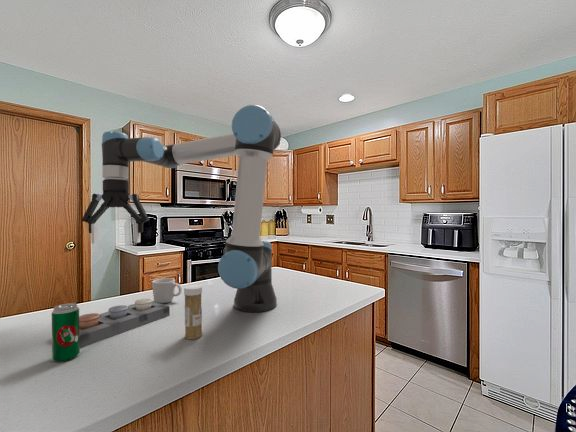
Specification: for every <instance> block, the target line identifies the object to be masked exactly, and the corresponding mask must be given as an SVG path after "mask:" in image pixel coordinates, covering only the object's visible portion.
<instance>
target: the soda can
mask: <svg viewBox="0 0 576 432" xmlns="http://www.w3.org/2000/svg"><path fill="white" fill-rule="evenodd" d="M79 316H80V307H79V306H78V303H74V302H70V303H62V304H59V305H56V306H54V307H53V310H52V312H51V348H52V349H51V350H52V351H51V354H52V355H51V356H52V357H51V358H52V360H53V361H54V362H56V363H64V362H67V361H71V360H74V359H75V358H76V357H78V356H79V355H80V353H81V348H80V331H79Z"/></svg>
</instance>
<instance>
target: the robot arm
mask: <svg viewBox="0 0 576 432" xmlns="http://www.w3.org/2000/svg"><path fill="white" fill-rule="evenodd" d="M231 131H232V133H228V134H222V135H217V136H211V137H205V138H201V139H200V138H199V139H194V140H190V141H183V142H179V143H172V144H166V145H164V144H163V143H162V142H161V140H160V139H158V137H149V136H144V137H129V136H128V134H126V133H125V132H121V131H112V130H110V131H105V132H103V134H102V136H101V139H102V140H101V153H102V154H101V157H102V158H101V159H102V178H103V180H102V194H99V193H92V196H91V201H90V203H89V205H88V207H87V209H86V210H85V212H84V214H83V217H81V221H82V222H85V223H86V224H88V233H89V234H91V235H90V236H91V244H92V245H93V244H99V223H97V221H98V220H99V219H100V218H101V217H102V215H103V214H104V213H105V212H106V211H107V210H108V209H109V208H123V209H125V210H126V212H127V213H128V214H129V215H130V216H131V217H132V218H133V219H134V220H135V222H136V223H134V243H135V244H139V243H141V241H142V240H141V235H142V234H143V232H144V223H146V222H148V221H149V220H150V217H149V216H148V214H147V212H146V210H145V209H144V207H143V205H142V203H141V201H140V196H139V194H137V193H132V194H129V191H130V190H129V189H130V188H129V184H130V182H129V180H128V179H129V163H130V162H145V163H148V164H151V165H156V166H160V167H163V168H166V169H175V168H177V167H179V166H180V165H183V164H190V163H195V162H196V163H197V162H202V161H209V160H215V159H222V158H228V157H234V156H238V165H237V167H238V168H237V174H236V176H237V177H236V188H235V196H234V205H233V206H234V209H233V216H232V217H233V219H232V226H231V227H232V228H231V235H230V237H228V238H227V239H226V241H225V248H224V254H223V255H222V256H221V258H220V259H219V260H218V264H217V271H218V275H219V278H220V279H221V281H223V283H224V284H225V285H227V287H230V288H232V289H236V292H235V297H234V298H233V307H234V309H236V310H238V311H240V312H246V313H258V312H259V313H260V312H266V311H270V310H272V309H275V308H276V307H277V305H278V304H277V303H278V302H277V296H276V293H275V290H274V289H275V288H274V285H273V284H272V278H273V276H272V274H273V273H272V270H273V269H272V268H273V266H272V262H273V261H272V257H273V256H272V255H273V254H272V252H273V249H272V244H271V242H270V241H267V240H261V237H260V235H261V226H262V216H263V207H264V206H263V205H264V196H265V187H266V178H267V177H266V176H267V169H268V168H267V166H268V161H269V160H270V159H272V157H273V155H274V151H275V150H276V149H277V148H278V147H279V145H280V142H281V140H282V139H281V138H282V133H281V129H280V126H279V125H278V124H277V122H276V121H275V119H274V118H273V116H272V115H271V112H269V111H268V110H266V109H265V108H264V107H263V106H261V105H257V104H249V105H245V106H243V107H241V108H240V109H239V110H238V111H236V113H235V114H234V115H233V118H232V121H231ZM101 200H103V202H102V203H101V204H100V207H99V208H98V209H97V207H98V205H99V203H100V201H101ZM130 200H131V201H132V202H133V204H134V207H135V208H136V209H137V211H136V210H135V209H134V208H133V207H132V206H131V204H130V203H129V201H130ZM96 209H97V210H96ZM95 210H96V211H95ZM141 233H142V234H141Z"/></svg>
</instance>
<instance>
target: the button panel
mask: <svg viewBox="0 0 576 432" xmlns="http://www.w3.org/2000/svg"><path fill="white" fill-rule="evenodd" d="M127 306H128V309H127V316H125V317H122V318H119V319H116V320H113V319H110V312H109V311H108V310H107V311H106V312H101V313H99V314H100V317H99V318H98V325H97V326H94V327H91V328H88V329H85V330H81V329H79V331H80V349H81V348H83V347H86V346H89V345H92V344H95V343H97V342H100V341H103V340H105V339H108V338H111V337H115V336H116V335H120V334H123V333H126V332H128V331H130V330H133V329H136V328H139V327H141V326H144V325H146V324H147V325H148V324H149V323H153V322H155V321H158V320H160V319H164V318H167V317H169V316H170V306H169V305H167V304H166V305H165V304H164V303H156V302H155V301H152V302H151V308H150V309H147V310H144V311H137V310H136V304H135V303H134V304H133V303H132V304H130V305H127Z"/></svg>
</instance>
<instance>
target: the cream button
mask: <svg viewBox="0 0 576 432" xmlns="http://www.w3.org/2000/svg"><path fill="white" fill-rule="evenodd" d="M151 302H153V299H152V298H149V297H148V298H147V297H146V298H145V297H144V298H140V299H136V300H135V301H134V304H136V310H137V311H144V310H147V309H150V308H151Z"/></svg>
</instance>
